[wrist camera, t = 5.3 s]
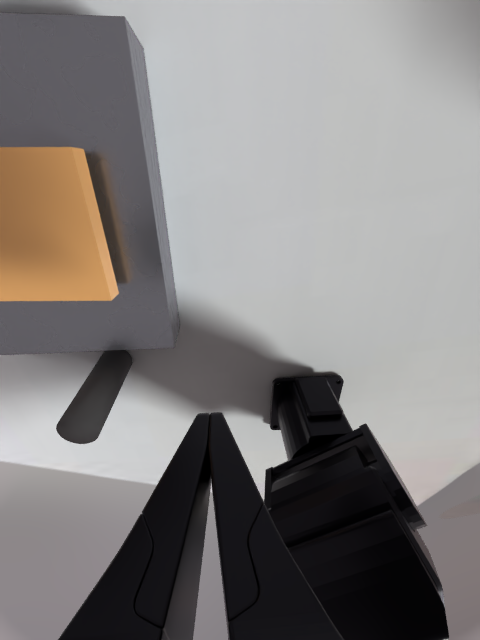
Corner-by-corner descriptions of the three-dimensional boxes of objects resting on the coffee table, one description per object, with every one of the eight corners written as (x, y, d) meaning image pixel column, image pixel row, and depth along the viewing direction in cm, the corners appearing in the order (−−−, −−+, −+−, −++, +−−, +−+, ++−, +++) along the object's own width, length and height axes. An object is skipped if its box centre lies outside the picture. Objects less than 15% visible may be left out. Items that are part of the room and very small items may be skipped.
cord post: (134, 370, 23) (103, 442, 16) (106, 371, 22) (63, 445, 16) (129, 346, 21) (93, 415, 15) (98, 348, 21) (50, 418, 15)
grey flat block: (179, 325, 21) (174, 347, 18) (19, 332, 20) (-11, 355, 17) (143, 48, 13) (124, 16, 10) (-120, 41, 12) (-211, 5, 10)
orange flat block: (-109, 146, 12) (-137, 144, 11) (83, 146, 12) (70, 144, 11) (-28, 295, 15) (-45, 303, 14) (119, 294, 15) (112, 302, 14)
